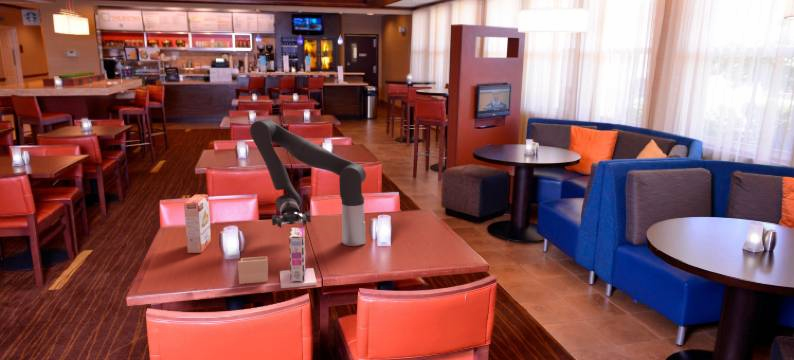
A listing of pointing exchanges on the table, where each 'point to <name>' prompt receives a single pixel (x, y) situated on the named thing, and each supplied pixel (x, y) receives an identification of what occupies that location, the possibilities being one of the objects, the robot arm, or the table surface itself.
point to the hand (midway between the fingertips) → (292, 223)
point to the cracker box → (197, 223)
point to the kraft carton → (253, 270)
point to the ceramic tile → (287, 283)
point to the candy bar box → (297, 254)
